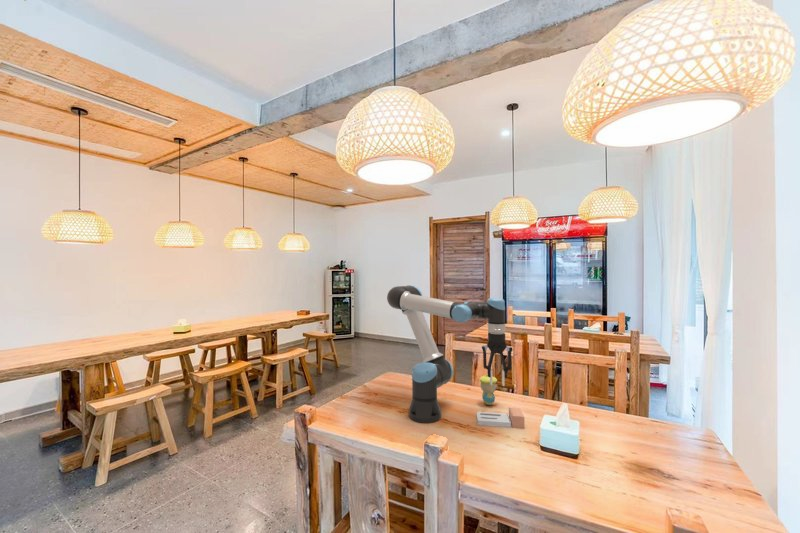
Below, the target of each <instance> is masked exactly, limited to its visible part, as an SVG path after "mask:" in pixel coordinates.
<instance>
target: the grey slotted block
mask: <svg viewBox="0 0 800 533" xmlns="http://www.w3.org/2000/svg"><path fill="white" fill-rule="evenodd" d="M476 420H477V421H476V422H477V426H485V427H498V428H499V427H500V428H512V425H511V421H510V419H509V413H499V412H484V411H476Z"/></svg>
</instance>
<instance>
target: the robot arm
mask: <svg viewBox="0 0 800 533" xmlns="http://www.w3.org/2000/svg"><path fill="white" fill-rule="evenodd" d="M386 301H387V303H388V305H389V306H390V307H391V308H393V309H396V310H401V312H402V314H403V315H405V316H406V317H407V319H408V322H409V323H408V324H409V325H410V327H411V330H412V332H413V335H414V337H415V340H416V342H417V345H418V348H419V350H420V353H421V355H422V358H423V360H422V362H420V363H417V364H415V365H414V366H413V367H412V372H411V373H412V374H411V378H412V379H411V380H412V381H411V384H412V385H411V386H412V388H411V390H412V391H411V392H412V394H411V395H412V399H411V402H410V405H409V408H408V417H409V419H410V420H413V421H414V422H417V423H423V424H429V423H435V422H438V421H439V420H440V419H441V418H442V411H441V410H442V409H441V407H440V404H439V401H438V388H441V387H442V386H443V385H445V384H447V383H449V382H450V381H451V379H452V378H453V375H454V367H453V365H452V363H451V361H449V360H448V359H446V358H445V356H444V354H443V353H442V352H440V351H439V348H438V346H437V343H436V341H435V339H434V337H433V334H432V332H431V329H430V327H429V325H428V322H427V319H426V317H425V315H424V313H425V314H429V315H433V316H438V317H443V318H446V319H452V320H454V321H456V322H457V323H466V322H468V321H471V320H475V319H484V320H487V332H488V333H487V344H486V345H481V350H482V363H483V365H482V366H483V369H485V370H487V375H488V377H490V384H491V385H493V383H492V376H493V369H492V365H493V361H494V357H495V355H497V354H498V355H499V356H500V359H501V360H500V361H501V363H502V368H503V369H501V385H502V387H505V385H506V384H505V381H506V380H505V379H507V378H508V371H510V370H512V352H513V347H512V346H509V345H508V344H507V343H506V305H505V303H506V302H505V300H504V298H490V297H489V298H488V299H487V301H486V302H479V301H464V302H463V303H460V302H455V301H450V300H445V299H440V298H435V297H429V296H424V295H423V292H422V291H421V289H420V288H419V287H417V286H415V285H401V286H399V285H398V286H394V287H392V288H391V289H389V291H388V292H387V296H386ZM487 350H489V352H490V353H489V359H488V362H487ZM505 350H506V351H507V364H506V360H505V355H504V353H503V352H505Z"/></svg>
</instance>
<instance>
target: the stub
mask: <svg viewBox="0 0 800 533" xmlns="http://www.w3.org/2000/svg"><path fill="white" fill-rule="evenodd" d="M508 416H509V419H510V421H511V428H514V429H525V416H524V413H523V411H522V409H521V408H520V407H510V406H509V407H508Z"/></svg>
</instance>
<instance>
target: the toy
mask: <svg viewBox="0 0 800 533" xmlns="http://www.w3.org/2000/svg"><path fill="white" fill-rule="evenodd" d="M478 380H479V382H480V389H481V391H482V393H481V394H482V395H481V397H482V401H483V402H484V404H485V405H486V406H487V405H488V406H491V405H493V403H494V402H495V399H496V396H495V393H494V392H496V391H497V387H498V384H497V382H498V379H497V378H496V377H495V376H493V375H492V383H493V385H491V384H490V377H488V374H485V375H482V376H480V377H479V378H478Z"/></svg>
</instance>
